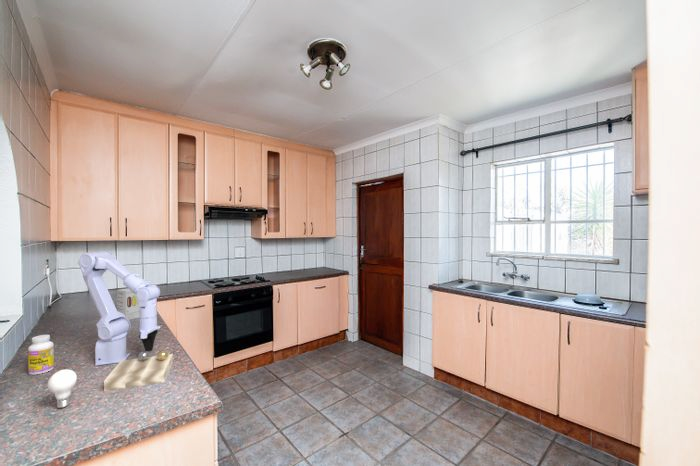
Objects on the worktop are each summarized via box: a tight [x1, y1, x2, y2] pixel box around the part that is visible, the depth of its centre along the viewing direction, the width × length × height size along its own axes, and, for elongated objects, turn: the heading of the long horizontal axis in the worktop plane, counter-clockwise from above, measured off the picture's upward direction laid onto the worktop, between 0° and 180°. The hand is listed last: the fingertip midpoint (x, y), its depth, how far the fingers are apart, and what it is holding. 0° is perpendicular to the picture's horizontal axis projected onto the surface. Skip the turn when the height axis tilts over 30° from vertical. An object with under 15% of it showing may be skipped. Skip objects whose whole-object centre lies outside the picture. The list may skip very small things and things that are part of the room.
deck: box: [103, 353, 174, 392], centre depth 110 cm, size 17×16×4 cm
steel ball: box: [137, 350, 150, 361], centre depth 115 cm, size 4×4×4 cm
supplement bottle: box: [27, 334, 55, 376], centre depth 113 cm, size 7×7×13 cm
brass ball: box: [156, 349, 169, 360], centre depth 115 cm, size 4×4×4 cm
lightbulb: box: [47, 368, 78, 409], centre depth 91 cm, size 6×6×11 cm
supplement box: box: [116, 287, 140, 321], centre depth 178 cm, size 10×9×17 cm
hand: (149, 350), depth 122 cm, fingers closed
